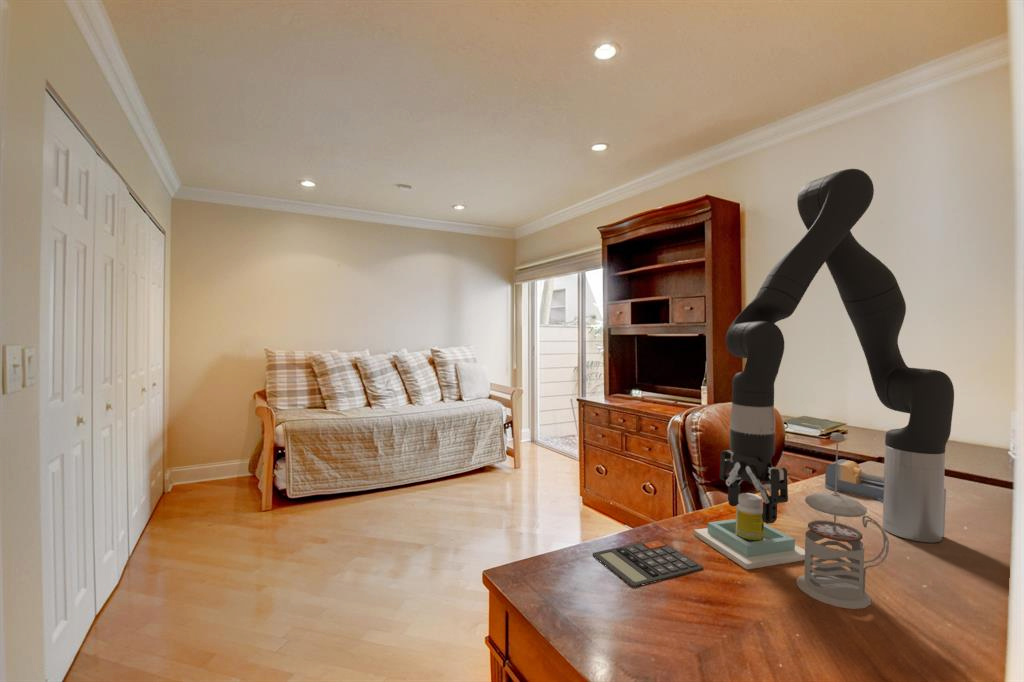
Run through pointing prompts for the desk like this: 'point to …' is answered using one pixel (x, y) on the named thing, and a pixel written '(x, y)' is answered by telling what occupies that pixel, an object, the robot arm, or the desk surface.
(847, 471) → the vise
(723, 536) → the dock socket
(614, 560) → the calculator
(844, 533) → the french press
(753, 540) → the supplement bottle
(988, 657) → the desk surface
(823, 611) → the desk surface
